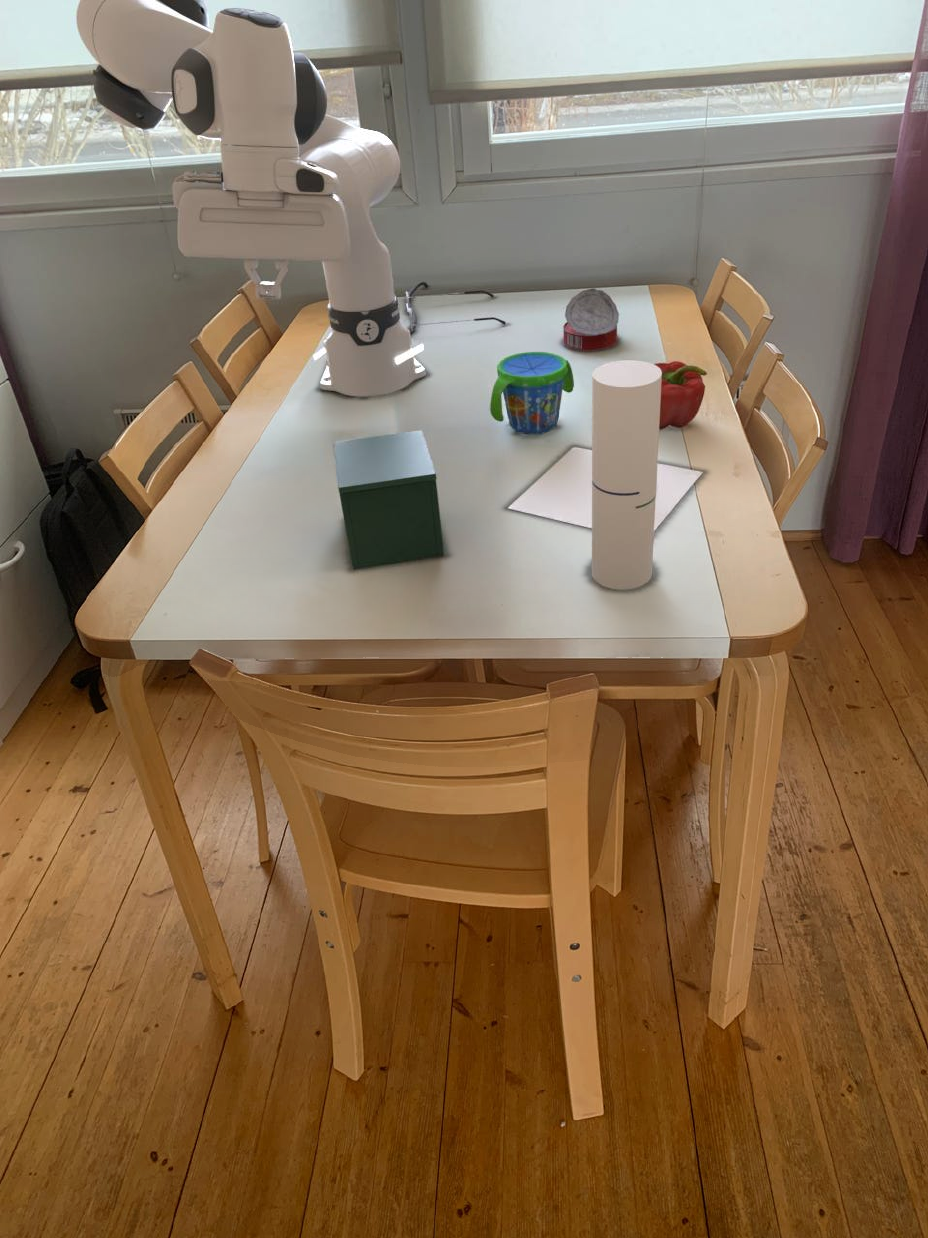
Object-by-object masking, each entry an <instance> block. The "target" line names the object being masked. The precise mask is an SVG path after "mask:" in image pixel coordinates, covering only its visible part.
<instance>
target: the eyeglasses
mask: <svg viewBox="0 0 928 1238" xmlns="http://www.w3.org/2000/svg"><path fill="white" fill-rule="evenodd" d="M408 293H409V292H408V291H405V304H406V305H405V306H406V311H407V314H408V316H409V327H410V326H411V332H414V329H413V327H414V326H415V327H416V326H424V325H426V323H418V324H417V323H416V325H415V324H413V316H412V311H411V308H410V306H411V304H410V305H409V302H410V299H411V298H414V296H410V297H409V296H408ZM479 293H482V294H485V295H488V296H489V297H491V298H495V297H494V296H495V295H494V294H493V293H491V292H489V291H486V290H470V291H469V290H468V291H464V292H463V294H465V295H467V294H479ZM457 294H458V295H461V292H454V293H453V292H452V295H457ZM444 295H446V296H447V295H450V293H441V294H440V296H444ZM434 296H435V297H436V296H437V297H438V294H431V295H430V294H429V295H428V297H434ZM424 297H426V295H422V296H421V295H419V296H418V295H417V296H416V298H424ZM491 320H494V321H497V322H499V323H501V324H502V325H504V326H505V325H506V321H505V320H502V319H500V318H497V317H492V316H491V317H479V318H474V319H473V321H474V322H478V321H479V322H480V321H491ZM470 321H472V319H465V320H462V322H470ZM458 322H461V320H452V321H451V323H458ZM447 323H449V321H441V322H439V324H447ZM435 324H438V322H430V323H428V325H435ZM415 327H414V328H415Z"/></svg>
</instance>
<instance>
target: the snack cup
mask: <svg viewBox="0 0 928 1238" xmlns="http://www.w3.org/2000/svg"><path fill="white" fill-rule="evenodd" d="M496 370H497V371H496V373H497V378H496V380H495V382H494V385H493V387H492V391H491V397H490V405H489V410H490V415H491V416H492V418H493V419H494V420H495V421H498V422H504V415H503V404H502V403H503V402H502V394H503V401H504V406H505V410H506V414H507V419H508V424H509V426H510V427H511V429H512V430H514V432H515V433H517V434H518V433H520V434H525V435H543V434H544V433H547V432H549V431H551V430H553V429H554V428H556V427H557V426H558V421H559V417H560V409H561V405H562V397H563V392H565V393H567V394H568V393H572V392H573V391H574V388H575V381H574V373H573V369H572V366H571V364H570V362H569V360H568V359H565V358H564V357H563V356H561V355H559V354H556V353H551V352H547V351H546V352H545V351H526V352H519V353H515V354H511V355H508V356H506V357H504V358H502V359H501V360H500V361H499V362H498V363H497V365H496Z"/></svg>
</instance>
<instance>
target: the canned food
mask: <svg viewBox="0 0 928 1238" xmlns="http://www.w3.org/2000/svg"><path fill="white" fill-rule="evenodd" d="M564 317H565V320H566V322H565V323H564V324H563V327H562V328H563V345H564V347H566V348H568V349H570V350H574V351H578V352H597V351H602V350H607V349H610V348H612V347H613V346H615V345H616V344H617V342H618V323H619V319H620V318H619V317H620V312H619V311H618V308H617V305H616V303H615V302H614V301H613V299H612V297H611V296H610V295H609V294H608V293H607V292H605V291H604V290H602V289H596V288H588V289H584V290H581V291H580V292H578V293H577V294H576V295H574V296H573V297H572V298H570V301H569V302H568V304H567V305H566V307H565V312H564Z"/></svg>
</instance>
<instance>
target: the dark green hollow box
mask: <svg viewBox="0 0 928 1238" xmlns="http://www.w3.org/2000/svg"><path fill="white" fill-rule="evenodd" d="M437 485H438V484H437V479H436V480H430V481H423V482H417V483H410V484H403V485H396V486H389V487H383V488H376V489H369V490H362V491H355V492H349V493H342V494H339V499H340V506H341V510H342V515H343V520H344V528H345V534H346V539H347V544H348V550H349V556H350V561H351V562H350V563H351V566H352V570H353V571H354V570H359V569H360V570H361V569H367V568H372V567H379V566H380V567H381V566H385V565H394V564H398V563H406V562H411V561H420V560H424V559H431V558H437V557H444V556H445V551H444V543H443V542H444V541H443V534H442V533H443V532H442V524H441V514H440V504H439V495H438V486H437Z"/></svg>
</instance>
